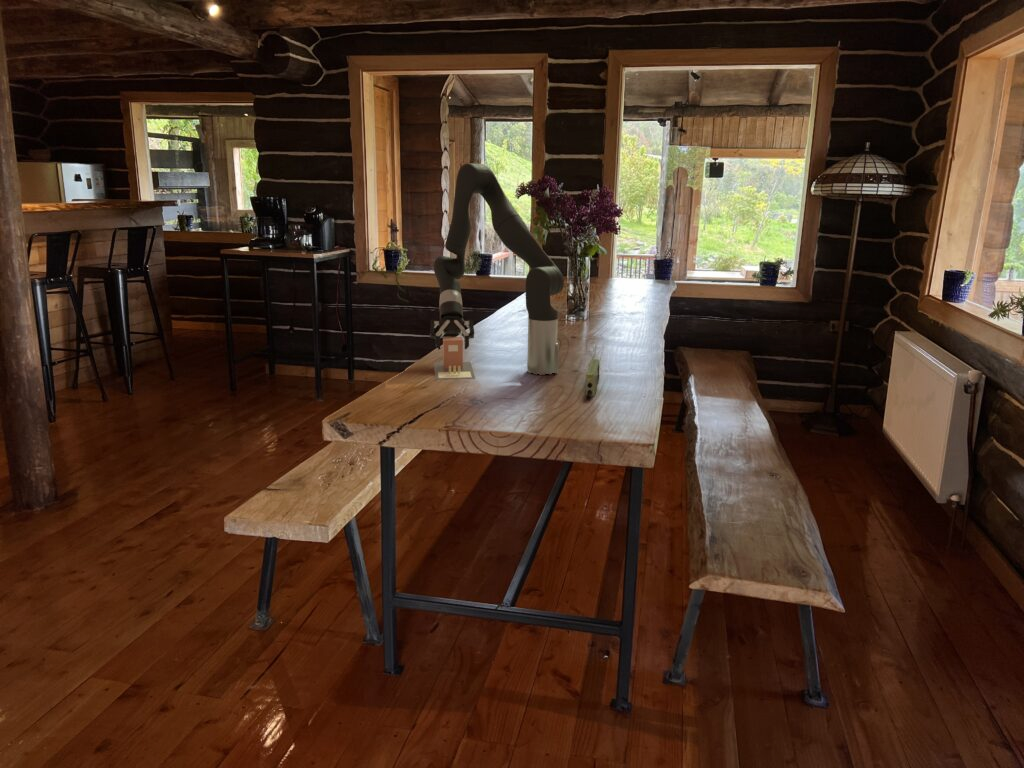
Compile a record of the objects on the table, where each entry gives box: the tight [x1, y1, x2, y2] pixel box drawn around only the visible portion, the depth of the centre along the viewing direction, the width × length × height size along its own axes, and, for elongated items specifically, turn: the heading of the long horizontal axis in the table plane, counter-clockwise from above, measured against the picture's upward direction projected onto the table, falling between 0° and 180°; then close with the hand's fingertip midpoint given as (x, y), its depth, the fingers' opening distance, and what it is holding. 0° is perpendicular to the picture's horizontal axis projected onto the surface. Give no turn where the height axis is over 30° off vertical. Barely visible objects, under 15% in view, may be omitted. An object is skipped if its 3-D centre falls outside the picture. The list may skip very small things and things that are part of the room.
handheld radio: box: [585, 358, 600, 401], centre depth 212 cm, size 7×3×25 cm
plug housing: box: [442, 336, 464, 368], centre depth 232 cm, size 6×5×9 cm
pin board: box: [433, 361, 476, 381], centre depth 228 cm, size 12×22×4 cm, turn 7°
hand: (452, 348), depth 232 cm, fingers open, 8 cm apart
